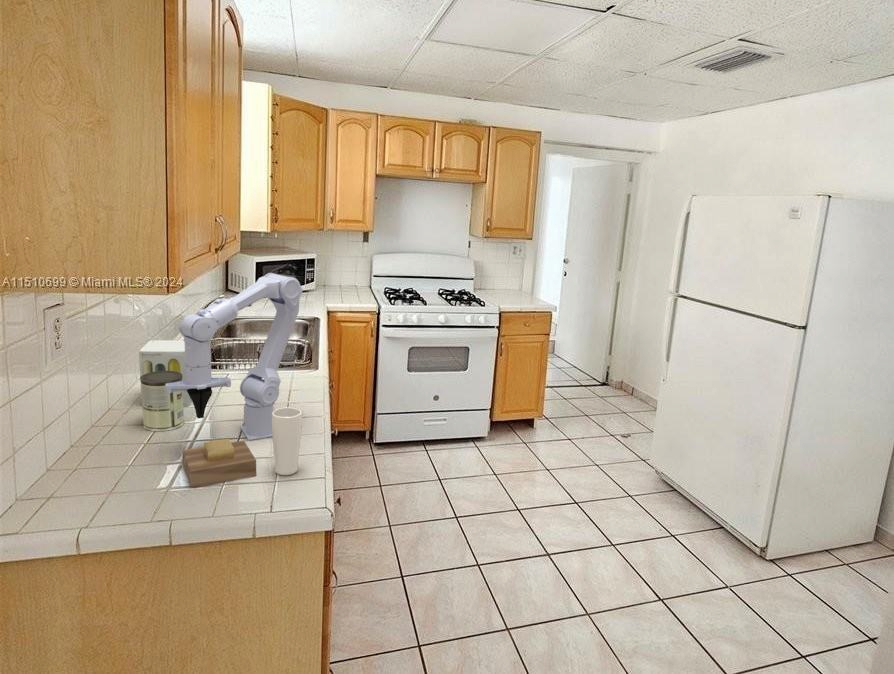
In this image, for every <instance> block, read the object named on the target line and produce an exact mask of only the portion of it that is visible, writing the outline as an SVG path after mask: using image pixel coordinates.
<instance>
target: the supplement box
mask: <svg viewBox="0 0 894 674" xmlns="http://www.w3.org/2000/svg"><path fill="white" fill-rule="evenodd" d="M138 357H139V358H138V359H139V360H138V361H139V375H140V377H141V376H142V375H144V374H147V373H150V372H155V371H176V372H179V373H181V374H182V381H183V380H186V368H185V342H184V340H176V339H173V340H169V339H166V340H165V339H164V340H163V339H161V340H159V339H155V340H153V339H150V340H149V341H148V342H146V344H145V345H144V346H143V347H141V349H139V351H138ZM140 377H139V378H140ZM140 394H141V395H140V396H141V398H142V392H141V391H140ZM191 402H192V400H191V398H190V396H189V394H188V392H187V391H183V407H189V406H190V404H191Z"/></svg>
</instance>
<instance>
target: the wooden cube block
mask: <svg viewBox="0 0 894 674" xmlns="http://www.w3.org/2000/svg"><path fill="white" fill-rule="evenodd" d="M231 442H232V441H231V440H230V438H223V439H218V440H209V441H204V442H203V447H204V454H205V456H206V458H207V460H208V462H211V461H217V460H223V459H229V458H234V447H233V445H232V444H231Z"/></svg>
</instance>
